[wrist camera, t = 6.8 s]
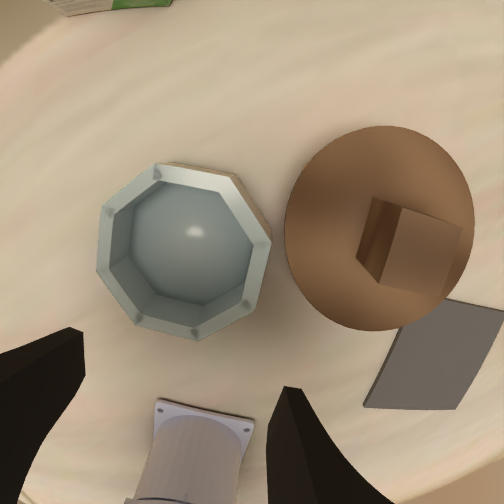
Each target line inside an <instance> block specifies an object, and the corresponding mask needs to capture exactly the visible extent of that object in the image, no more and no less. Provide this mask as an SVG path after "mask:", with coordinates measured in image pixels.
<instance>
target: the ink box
mask: <svg viewBox="0 0 504 504" xmlns="http://www.w3.org/2000/svg"><path fill="white" fill-rule="evenodd" d="M42 1H43V2H45V3H46V4H48V5H49V6H51V7H52V8H54V9H55V10H57V11H58V12H60V13H61V14H62V15H64V16H66V17H68V16H72V15H78V14H84V13H89V12H96V11H103V10H112V9H121V8H132V7H148V6H169V5H170V3H171V1H172V0H42Z"/></svg>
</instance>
